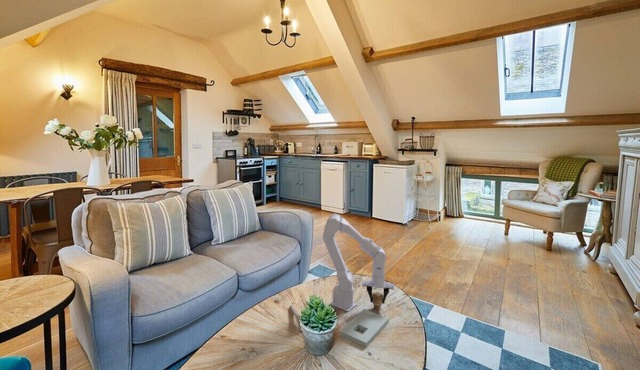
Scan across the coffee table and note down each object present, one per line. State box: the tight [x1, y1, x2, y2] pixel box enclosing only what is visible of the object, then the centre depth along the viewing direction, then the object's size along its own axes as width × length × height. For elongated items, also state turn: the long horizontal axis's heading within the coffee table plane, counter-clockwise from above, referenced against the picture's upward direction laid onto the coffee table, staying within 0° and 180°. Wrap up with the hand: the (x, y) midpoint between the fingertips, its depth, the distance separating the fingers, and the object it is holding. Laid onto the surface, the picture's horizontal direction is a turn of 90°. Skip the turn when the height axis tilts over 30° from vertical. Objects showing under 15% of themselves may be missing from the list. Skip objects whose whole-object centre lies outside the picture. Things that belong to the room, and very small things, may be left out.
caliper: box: [289, 304, 303, 333], centre depth 137 cm, size 20×1×6 cm, turn 18°
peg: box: [371, 291, 383, 311], centre depth 145 cm, size 5×5×7 cm
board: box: [339, 308, 390, 348], centre depth 130 cm, size 12×20×2 cm, turn 143°
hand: (377, 301), depth 145 cm, fingers closed on peg, 5 cm apart
